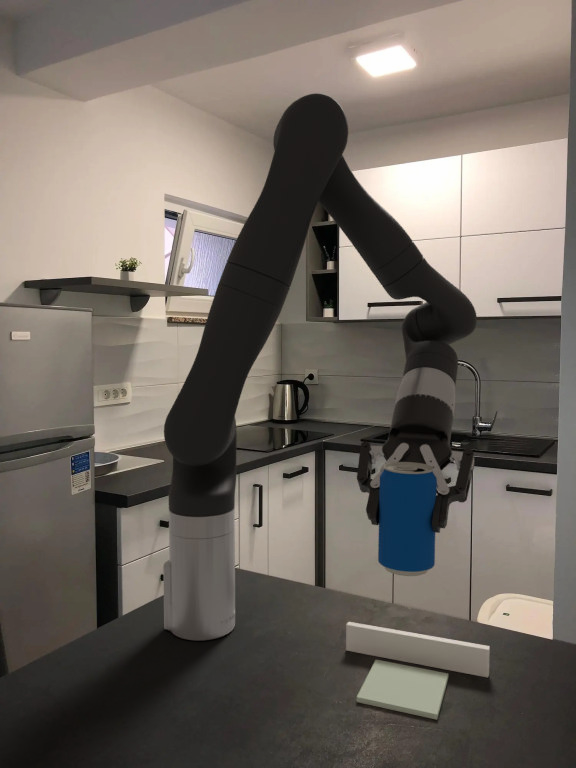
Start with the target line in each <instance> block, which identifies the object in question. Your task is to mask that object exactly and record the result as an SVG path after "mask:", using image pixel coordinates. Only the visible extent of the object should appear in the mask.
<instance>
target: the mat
mask: <svg viewBox="0 0 576 768" xmlns="http://www.w3.org/2000/svg"><path fill="white" fill-rule="evenodd" d="M448 680H449V673H448V672H447V673H446V672H442V671H437V670H431V669H427V668H421V667H416V666H412V665H411V666H410V665H406V664H401V663H395V662H390V661H385V660H380V659H375V660H374V662H373V664H372V666H371V668H370V670H369V672H368V674H367V676H366V678H365V679H364V681H363V683H362V685H361V687H360V689H359V691H358V693H357V695H356V702H357V703H359V704H364V705H369V706H374V707H379V708H382V709H387V710H391V711H397V712H400V713H405V714H409V715H415V716H419V717H423V718H428V719H432V720H438V719H439V714H440V711H441V707H442V703H443V700H444V696H445V692H446V688H447V686H448Z"/></svg>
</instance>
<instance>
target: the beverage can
mask: <svg viewBox="0 0 576 768" xmlns="http://www.w3.org/2000/svg"><path fill="white" fill-rule="evenodd" d="M383 465H384V464H383ZM417 468H419V469H423V470H425V471H423V472H413V471H415V470H417ZM436 491H437V478H436V476H435V475H434V473H433V467H432V466H430V465H427V464H422V463H414V462H393V463H387V464H385V465H384V470H383V472H382V473H381V475H380V490H379V525H378V545H377V546H378V548H377V549H378V550H377V552H378V553H377V556H378V557H377V561H378V563H379V564H380V565H381V566H382V567H384V569H385V571H387V572H388V573H390V574H393V575H397V576H403V577H418V576H422V575H425V574H427V572H428V571H430V570H432V569H433V568H434V566H435V565H436V564H435V563H436V560H435V559H436V532H433V528H432V520H433V512H434V505H435V500H436V495H437V494H436Z"/></svg>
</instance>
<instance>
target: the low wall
mask: <svg viewBox="0 0 576 768" xmlns="http://www.w3.org/2000/svg"><path fill="white" fill-rule="evenodd" d="M345 626H346V627H345V633H346V635H345V651H348V652H351V653H352V652H353V653H359V654H363V655H368V656H373V657H377V658H378V657H379V658H385V659H389V660H394V661H398V662H399V661H400V662H406V663H411V664H417V665H420V666H426V667H432V668H437V669H441V670H447V671H451V672H457V673H461V674H462V673H463V674H467V675H468V674H469V675H474V676H477V677H483V678H489V677H490V676H489V674H490V649H491V648H490V645H485V644H479V643H473V642H469V641H463V640H455V639H450V638H446V637H445V638H444V637H441V636H440V637H439V636H433V635H428V634H423V633H422V634H421V633H416V632H410V631H404V630H398V629H393V628H388V627H381V626H375V625H370V624H364V623H360V622H359V623H358V622H353V621H348V622H347V623H346V624H345Z"/></svg>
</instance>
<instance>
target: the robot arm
mask: <svg viewBox="0 0 576 768" xmlns="http://www.w3.org/2000/svg"><path fill="white" fill-rule="evenodd" d="M273 134H274V135H273V143H272V144H273V150H274V151H273V156H272V159H271V163H270V166H269V170H268V174H267V175H266V176H267V177H266V180H265V182H264V185H263V187H262V189H261V192H260V195H259V197H258V199H257V200H256V203H255V204H254V206H253V208H252V210H251V212H250V213H249V215H248V217H247V218H246V220H245V222H244V224H243V226H242V228H241V229H240V232H239V234H238V236H237V238H236V240H235V242H234V244H233V246H232V248H231V251H230V253H229V255H228V258H227V260H226V263H225V266H224V268H223V271H222V274H221V275H220V278H219V281H218V283H217V287H216V289H215V293H214V297H213V300H212V302H211V305H210V307H209V308H210V309H209V310H208V311H209V312H208V314H207V318H206V322H205V325H204V327H203V328H204V329H203V333H202V335H201V340H200V343H199V346H198V350H197V353H196V355H195V358H194V360H193V363H192V366H191V367H190V370H189V372H188V375H187V376H186V378H185V380H184V382H183V384H182V387H181V388H180V391H179V393H178V394H177V396H176V398H175V401H174V402H173V403H172V406H171V408H170V410H169V412H168V414H167V415H166V418H165V421H164V426H163V439H164V442H165V445H166V447H167V449H168V450H167V451H169V453H170V455H171V457H172V474H171V481H170V485H169V489H168V534H169V535H168V540H169V541H168V542H169V543H168V545H169V546H168V547H169V549H168V550H169V558H168V560H167V561H165V562H164V563H163V567H162V569H163V629H164V630H168V631H169V632H171V633H172V634H173V635H174V636H176V637H178V638H180V639H182V640H183V639H184V640H189V641H210V640H214V639H219V638H221V637H224V636H225V635H228V634H229V633H230V632H232V631H233V629H235V625H236V553H235V552H236V541H235V539H236V535H235V534H236V531H235V529H236V528H235V527H236V526H235V525H236V524H235V521H236V520H235V512H236V511H235V506H236V505H235V504H236V503H235V498H236V487H237V486H236V485H237V444H238V443H237V441H238V440H237V437H238V436H237V420H236V414H237V413H236V412H237V410H238V406H239V402H240V399H241V395H242V393H243V389H244V386H245V384H246V380H247V378H248V376H249V374H250V371H251V369H252V367H253V365H254V364H255V362H256V360H257V359H258V357H259V355H260V353H261V351H263V348H264V347H265V344H266V343H267V341H268V339H269V337H270V335H271V333H272V332H273V329H274V327H275V326H276V325H275V324H276V322H277V320H278V318H279V317H280V314H281V312H282V310H283V306H284V304H285V302H286V299H287V297H288V294H289V292H290V289H291V286H292V283H293V279H294V278H295V274H296V271H297V267H298V266H299V263H300V260H301V256H302V253H303V250H304V246H305V243H306V239H307V236H308V233H309V229H310V226H311V222H312V219H313V216H314V214H315V210H316V208H317V206H318V204H320V205H321V207H322V208H323V209H324V210H325V211H326V212H327V213H328V215H329V216H330V217H331V218H332V219H333V221H334V223H336V225H337V226H338V227H339V229H340V230H341V231H342V232H343V234H344V235H345V236H346V237H347V239H348V241H349V242H350V243H351V244H352V246H353V247H354V249H355V250H356V251H357V253H358V254H359V256H360V257H361V258H362V260H363V262H364V263H365V264H366V265H367V267H368V268H369V270H370V271H371V273H372V274H373V276H375V278H376V280H377V281H378V282H379V284H380V285H381V286H382V288H383V289H384V291H385V292H386V293H387V295H388V296H389V297H390V298H391V299H392V300H397V301H398V300H400V301H401V300H405V299H411V298H420V299H421V300H423V301H425V302H424V303H421V304H420V305H418V306H416V307H413V308H412V309H411V310H410V311H409V312H408V313H407V314H406V316H405V317H404V319H403V322H402V323H401V334H402V340H403V345H404V346H403V347H404V353H405V365H404V369H403V374H402V379H401V383H400V386H399V387H398V390H397V394H396V397H395V403H394V408H393V412H392V418H391V423H390V427H389V428H390V429H389V432H388V438H387V439H386V441H385V442H384V443H383V445H371V443H370V442H369V441H362V442H361V444H360V448H359V458H358V464H357V473H356V480H357V484H358V486H359V491H360V492H361V493H368V497H367V503H366V508H365V511H366V516H367V519H368V520H370V522H371V525H374V526H379V490H380V475H381V473H382V472H383V470H384V465H385V464H387V463H393V462H414V463H422V464H427V465H430V466H432V467H433V473H434V475H435V476H436V478H437V491H436V500H435V505H434V512H433V520H432V528H433V532H435V533H436V534H437V533H438V534H440V533H441V529H446V528H447V526H448V518H449V510H450V505H451V504H452V503H454V502H458V503H465V502H467V500H468V497H469V493H470V492H469V491H470V487H471V482H472V478H473V473H474V468H475V456H474V455H475V453H474V451H473V450H472V449H471V448H466V449H464V450H463V451H462V452H461V451H455V450H452V448H451V447H450V444H451V438H452V437H451V436H452V431H453V430H452V429H453V422H454V417H455V414H456V413H455V412H456V409H455V406H456V384H457V376H458V369H459V367H458V365H459V360H458V359H459V357H458V354H457V352H456V350H455V349H454V348H453V347H452V345H451V344H454V343H456V342H458V341H460V340H463V339H465V338H467V337H468V336H470V335H471V334H473V332H474V331H475V329H476V327H477V322H478V317H477V312H476V309H475V307H474V305H473V303H472V301H471V300H470V299H469V298H468V296H467V295H466V294H464V293H463V291H461V290H460V289H459V288H458V287H457V286H455V285H454V284H452V283H451V282H450V281H449V280H448V279H446V278H445V277H444V276H443V275H442V274H441V273H439V271H437V270H436V268H434V267H433V266H432V265H431V264H429V262H428V261H427V260H426V258H425V256H424V255H423V253H422V252H421V250H420V249H419V248H418V246H417V245H416V243H415V242H414V241H413V239H412V237H411V236H410V235H409V234H408V232H407V231H406V230H405V229H404V228H403V226H402V225H401V224H400V223H399V222H398V220H397V219H395V218H394V217H393V215H392V214H390V213H389V211H387V210H386V209H385V208H384V206H382V205H381V204H380V203H379V202H378V201H377V200H376V199H375V198H373V197H372V196H371V194H369V192H368V191H367V190H366V189H365V188H364V187H363V185H362V184H361V183H360V182H359V181H358V179H357V178H356V176H355V175H354V173H353V171H352V170H351V168H350V166H349V165H348V163H347V161H346V159H345V157H344V155H343V154H344V152H345V149H346V147H347V144H348V138H349V122H348V119H347V116H346V113H345V110H344V109H343V108H342V105H341V104H340V103H339V102H338V101H337V100H336V99H335V98H333V97H331V96H330V95H328V94H324V93H317V92H316V93H309V94H307V95H304V96H303V95H302V96H301V97H300V98H298V99H296V100H294V101H293V102H292V103H291V104H290V105H289V106H288V107H286V109H285V110H284V111H283V113H282V115H281V117H280V119H279V121H278V123H277V125H276V127H275V130H274V133H273ZM381 457H383V458H384V459H385V462H384V463H383V465H382V466H381V468H379V469H380V470H379V472H378V473H377V475H375V476H374V477H373V478H372V472H373V465H376V464H377V462H378V460H379V458H381ZM451 462H452V463H454V466H455V469H456V470H457V471H458V472H457V473H458V474H457V476H456V481H455V485H452V486H448V484H447V481H446V479H445V478H444V473H443V470H444V469H445V468H446V467H447V466H448V465H449V464H451ZM423 471H425V470H423V469H419V468H417V470H415V471H413V472H423Z"/></svg>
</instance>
